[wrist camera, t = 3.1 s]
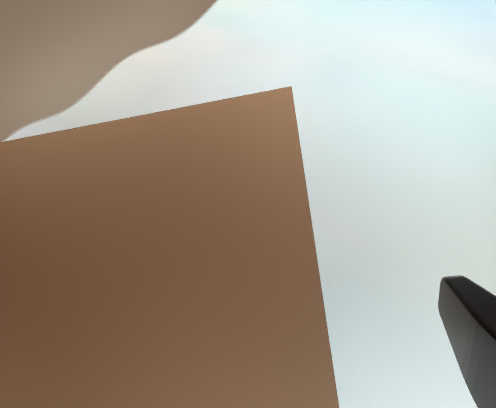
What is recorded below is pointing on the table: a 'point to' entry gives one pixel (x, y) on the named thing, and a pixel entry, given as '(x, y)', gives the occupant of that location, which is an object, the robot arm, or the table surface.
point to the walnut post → (163, 264)
